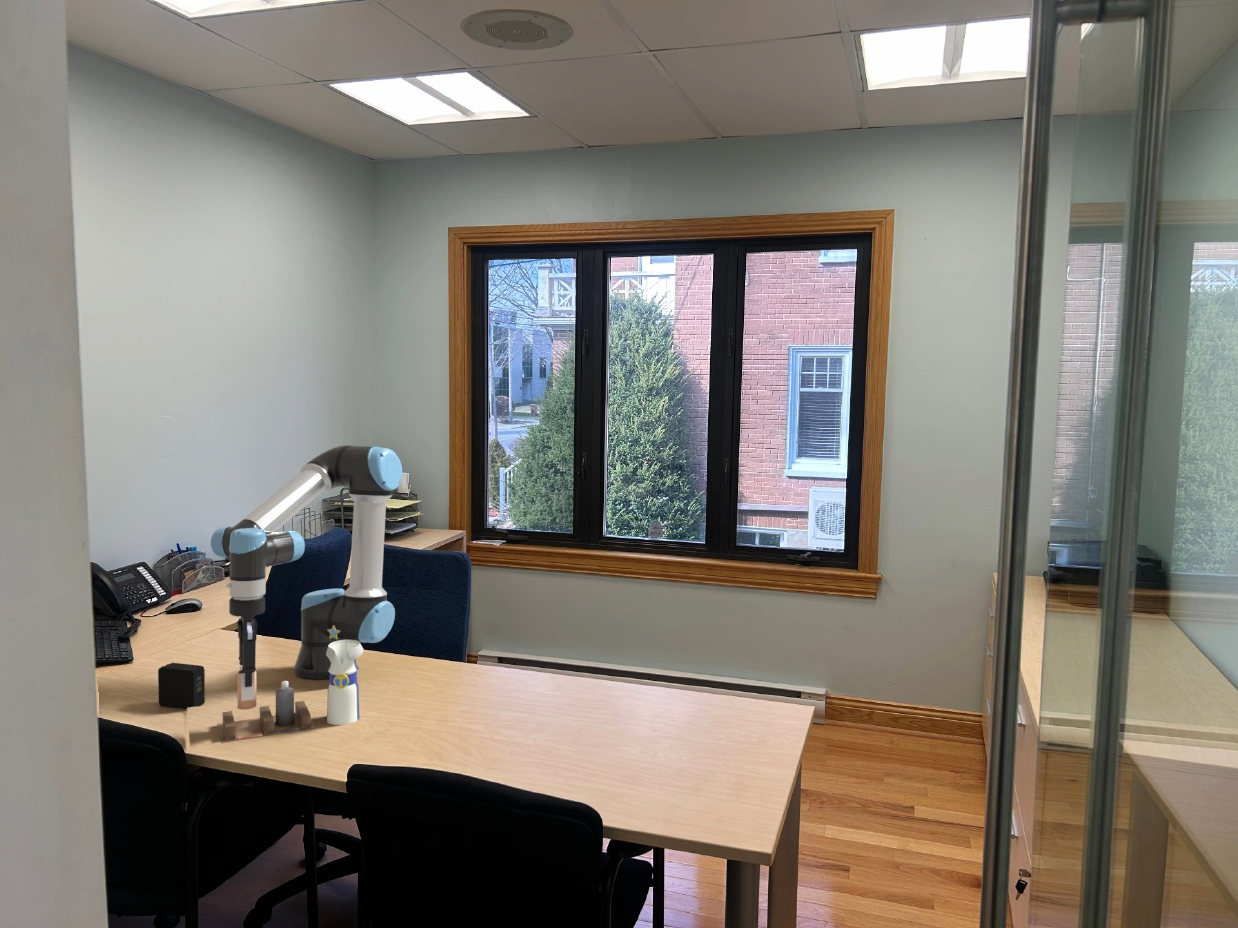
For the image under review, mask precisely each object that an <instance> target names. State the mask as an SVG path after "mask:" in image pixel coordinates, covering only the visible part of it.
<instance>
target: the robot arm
mask: <svg viewBox="0 0 1238 928" xmlns="http://www.w3.org/2000/svg"><path fill="white" fill-rule="evenodd" d="M402 478H403V467H402V462H401V460H400V458H399V456H398V455H397V454H396V452H395V451H394V450H392V449H390V448H387V447H381V446H363V445H362V446H361V445H347V444H346V445H345V444H343V445H338V446H336V447H332V448H330V449H328V450H326V451H324V452H321V453H320V454H318V455H317V456H315V457H314V458H312V459H311V460H309V461H308V462H307V463H306V464H305V465H303V466H302V467H301V469H300V473H299V474H298V475H296V476H295V477H294V478H293V479H292V480H290V481H289V482H288V483H286V484H285V485H284V486H283V487H282V488H280V489H279V490H277V492H275V493H274V494H273V495H272V496H270V497H269V498H267V500H266V501H264V502H263V503H261V504H260V505H259V506H258V507H257V508H255V509H254V510H253V511H251V513H249V514H248V515H247V516H246V517H244V518H242V520H240V522H238V523H236V524H235V525H233V526H223V527H219V528H217V529H216V530H214V532H213V534H212V536H211V537H210V547H211V551H212V552H213V554H215V555H216V556H217V557H220V558H224V559H229V582H228V583H227V584H226V588H229V596H230V597H231V598H230V599H229V603H228V604H229V605H228V606H229V607H228V611H229V612H228V613H229V614H230V615H231V616H233V617H236V618H237V617H240V618H238V620H237V623H236V625H237V631H238V632H237V637H238V640H239V641H238V642H239V643H238V645H239V646H238V656H239V657H238V661H239V664H238V665H239V670H238V672H239V674H241V701H245V700H253V699H254V683H255V671H256V672H257V670H256V669H257V667H256V657H257V656H256V655H257V654H256V651H257V650H256V647H257V646H256V645H257V630H258V621H257V619H255V617H256V616H259V615H263V614H264V613H265V611H266V597H265V595H266V590H267V588H266V587H267V586H266V585H267V584H266V583H267V582H266V578H267V577H266V569H267V568H268V567H272V566H277V565H282V564H288V563H291V562H294V561H297V560H299V559H300V558H302V556H303V554H304V553H305V550H306V549H305V547H306V543H305V539H304V538H303V536H302V535H301V533H299V532H298V531H295V530H282V531H278V530H279V529H281V528H282V527H283V526H284V525H286V524H287V523H288V522H289V521H290V520H291V519H293V518H294V517H295V516H296V515H297V514H298V513H299V512H300V511H302V510H303V509H304V508H306V506H308V505H309V504H310V503H311V502H312V501H313V500H314V499H316V498H317V497H318V496H319V495H325V494H327V493H328V492H330V491H331V490H332V489H335V488H338V487H339V488H341V487H345V488H348V495H349V497H350V498H351V499H352V501H353V516H352V534H351V535H352V536H351V553H350V556H351V557H350V571H349V572H350V573H349V575H350V576H349V587H348V588H347V589H346V590H345V589H343V588H328V589H327V588H326V589H321V590H320V589H319V590H316V591H315V590H314V591H311V592H308V593H306V594H304V595H303V597H302V598H301V606H300V607H301V608H300V625H301V626H300V631H301V632H300V634H301V642H300V643H301V645H300V648H299V651H298V654H297V658H296V660H295V663H294V674H295V676H297V677H298V678H301V679H307V680H325V679H330V672H329V671H328V669H329V667H330V665H331V662H330V660H329V658H328V657H327V655H326V652H327V649H328V645H329V644H330V643H332V642H335V641H340V640H355V641H358V642H360V643H362V644H363V643H364V644H366V643H369V644H371V643H372V644H374V643H379V642H381V641H383V640H384V639H385V638H386V637H387V636H388V634H389V632H391V629H392V628H393V626H394V623H395V622H394V621H395V618H396V617H395V616H396V611H395V610H396V609H395V607H394V605H393V604H392V603H391V602H390V601H388V600H387V599H388V597H387V596H388V592H387V591H386V590H385V589H384V588H383V570H384V550H385V549H384V547H385V533H386V532H385V530H386V513H387V512H386V511H387V502H388V501H389V499H391V497H393V491H394V490H396V489H397V488H398V487H399V486H400V483H401V481H402ZM333 626H335V629H336V630H339V631H340V632H339V633H338V634H337V639H336V638H334V637H333V638H330V639H329V637H330V633H329V632H328V631H327V630H328V629H332V627H333Z"/></svg>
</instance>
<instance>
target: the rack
mask: <svg viewBox="0 0 1238 928" xmlns="http://www.w3.org/2000/svg"><path fill="white" fill-rule="evenodd" d="M217 728H218V732H219V739H220V743H221V744H225V743H231V742H238V741H244V740H250V739H256V738H263V737H269V736H270V737H271V736H275V735H277V736H278V735H282V734H290V733H296V732H302V731H309V730H314V729H316V726H315V724H314V721H313V719H312V717H311V713H310V711H309V709H308V706H307V704H306V702H305V700H301V701H294V723H293V724H292V725H289V726H284V727H281V726H277V725H276V714H275V715H273V714H272V711H271V709H270V705H263V706H259V717H255V718H247V719H242V720H235V719H234V714H233V710H229V711H222V723H221V722H220V723H217Z"/></svg>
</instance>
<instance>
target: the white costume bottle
mask: <svg viewBox="0 0 1238 928" xmlns="http://www.w3.org/2000/svg"><path fill="white" fill-rule="evenodd" d="M327 631H328V632H329V633H330V637H329V639H330V638H333V637H334V638H336V639H337V634H338V633H339V632H340V631H339V630H336V629H335V626H333V627H332V629H328V630H327ZM363 653H364V648H363V646H362V645H361V642H360V641H355V640H348V639H345V640H340V641H335V642H332V643H330V644H329V645H328V649H327V652H326V655H327V657H328V658H329V660H330V662H331V665H330V667H329V669H328V671H329V672H330V678H329V684H328V686H327V705H326V706H327V708H326V722H327V724H330V725H334V726H344V725H345V726H346V725H350V724H354V723H356V722H358V721H359V720H360V688H359V682H358V670H359V669H360V667H359V666H358V663H357V659H358V658H359V657H360V656H362V655H363Z"/></svg>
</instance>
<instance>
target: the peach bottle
mask: <svg viewBox="0 0 1238 928" xmlns="http://www.w3.org/2000/svg"><path fill="white" fill-rule="evenodd" d="M257 672H258V671H257V670H256V671H255V683H254V699H253V700H245V701H241V674H239V671H238V672H237V676H236V677H237V709H238V710H250V709H254V708H256V707H257Z"/></svg>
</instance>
